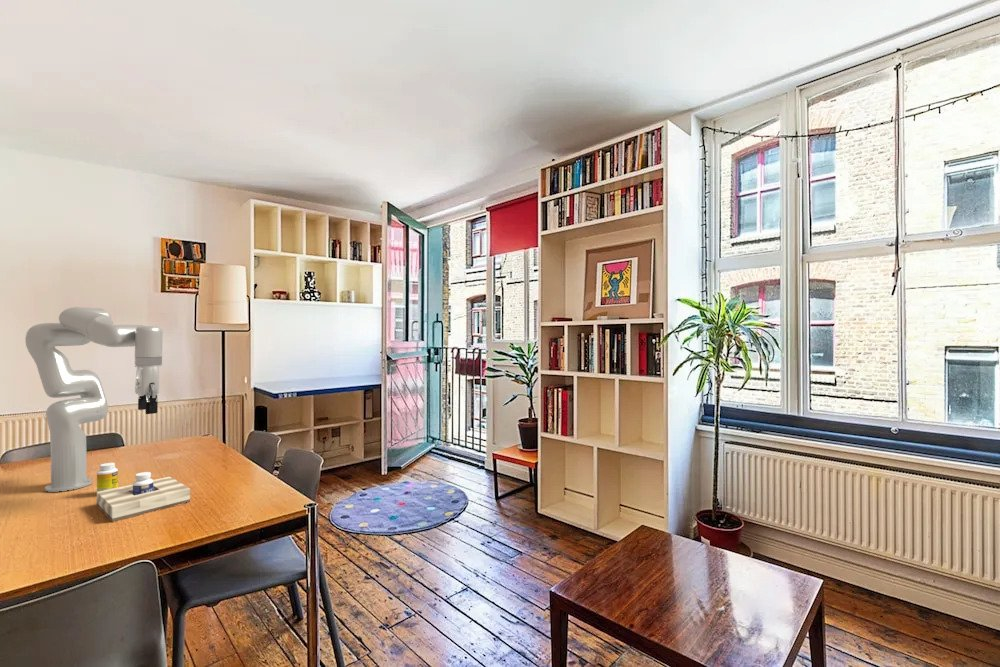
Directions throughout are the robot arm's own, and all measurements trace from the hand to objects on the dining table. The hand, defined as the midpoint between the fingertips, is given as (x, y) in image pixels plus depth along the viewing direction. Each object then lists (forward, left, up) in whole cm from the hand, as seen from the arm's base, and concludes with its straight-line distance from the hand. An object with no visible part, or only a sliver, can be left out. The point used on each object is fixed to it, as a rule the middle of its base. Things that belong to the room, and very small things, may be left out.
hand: (147, 411), depth 159 cm
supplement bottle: (-13, -9, -29) cm, 33 cm away
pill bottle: (+9, -4, -28) cm, 30 cm away
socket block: (+9, -4, -29) cm, 31 cm away
